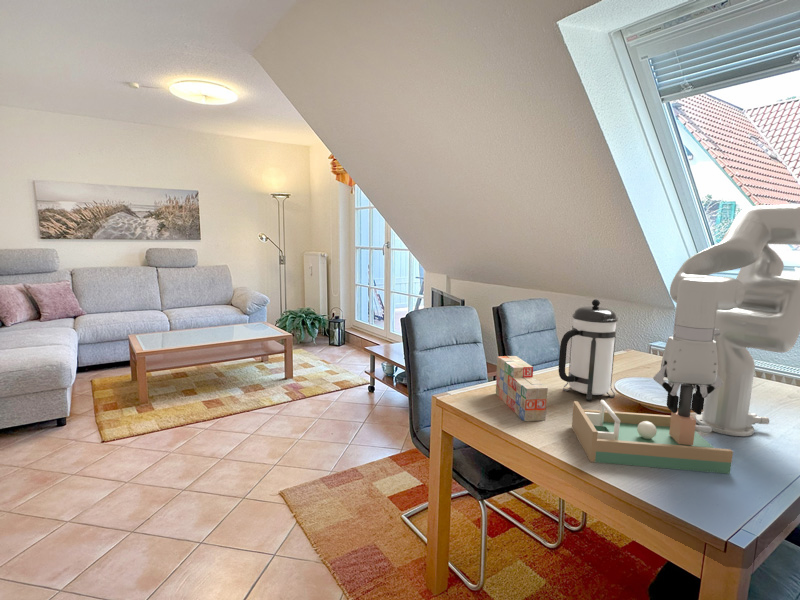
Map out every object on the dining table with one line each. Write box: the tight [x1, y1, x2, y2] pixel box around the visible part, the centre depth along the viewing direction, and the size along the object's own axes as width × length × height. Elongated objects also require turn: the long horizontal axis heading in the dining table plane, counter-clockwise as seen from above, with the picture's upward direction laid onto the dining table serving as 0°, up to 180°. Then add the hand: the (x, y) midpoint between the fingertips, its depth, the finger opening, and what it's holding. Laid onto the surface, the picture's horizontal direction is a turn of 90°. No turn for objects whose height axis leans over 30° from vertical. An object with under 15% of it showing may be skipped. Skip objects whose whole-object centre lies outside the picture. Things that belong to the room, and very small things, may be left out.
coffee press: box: [558, 299, 619, 402], centre depth 137 cm, size 17×16×30 cm
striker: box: [669, 383, 713, 445], centre depth 102 cm, size 8×5×13 cm, turn 81°
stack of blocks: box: [495, 355, 549, 422], centre depth 128 cm, size 21×6×12 cm, turn 9°
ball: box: [637, 421, 657, 439], centre depth 104 cm, size 4×4×4 cm
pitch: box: [571, 399, 734, 475], centre depth 104 cm, size 28×18×9 cm, turn 81°
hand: (684, 410), depth 102 cm, fingers open, 4 cm apart
